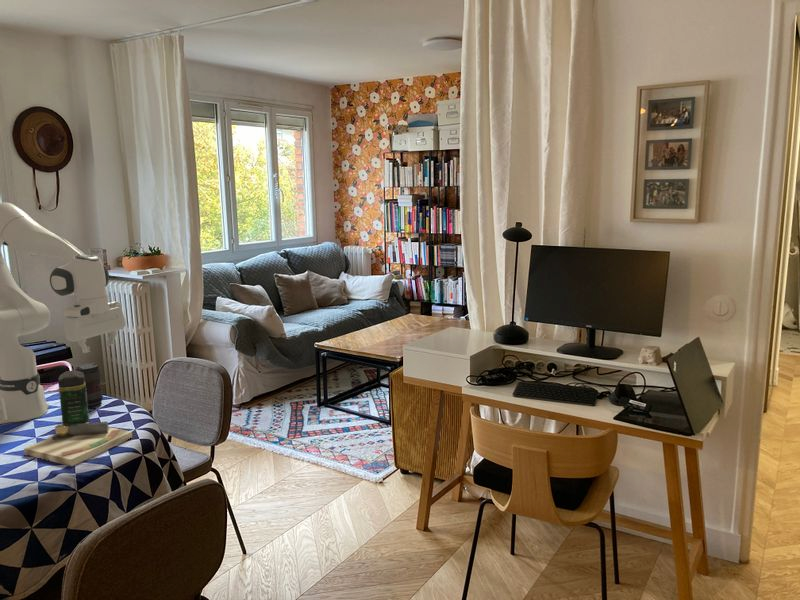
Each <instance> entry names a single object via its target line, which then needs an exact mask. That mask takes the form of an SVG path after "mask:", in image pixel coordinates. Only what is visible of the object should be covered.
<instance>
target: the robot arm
mask: <svg viewBox="0 0 800 600" xmlns="http://www.w3.org/2000/svg"><path fill="white" fill-rule="evenodd" d="M2 246H9V247H10V248H11V249H13V250H14V251H16V252H18V253H20V254H24V255H34V256H36V255H37V256H46V257H47V256H48V257H53V258H57V259H59V260H61V261H62V262H64V263H65V264H64V265H60V266H59V267H55V268H54V269H52V271H51V273H50V276H49V285H50V287H51V289H52V291H53V292H54V293H55V294H57V295H58V296H60V297H68V296H69V297H70V296H76V301H75V302H74V303H73V304H71V305H69V306H67V307H66V308H64V309H63V311H62V314H63V316H64V317H65V318H64V320H63V331H64V332H63V333H64V338H65V339H66V341H68V342H76V343H77V344H78V346H79V347H80V348H81V350H82V354H88V353H90V352H91V346H87V345H86V343H87V339H91V338H94V337H98V336H101V335H105V334H108V335H109V338H108V339H106V343H107V344H106V345H107V346H110V347H111V346H115V344H116V343H115V339H116V337H117V334H118V333H117V331H120V330H124V329H125V327H126V319H125V316H124V312H123V309H122V305H121V303H119V302H118V301H112V302H109V294H108V292H107V288H106V287H107V286H108V284H109V281H110V273H109V270H108V269H107V267H106V266H105V265H104V264H103V262H102V259H101V257H100V256H97V255H95V254H91V253H90V254H87V253H86V254H85V252H83V251H82V250H80V249H79V248H78V247H76V245H74V244H72V243H71V242H69V241H68V240H67V239H65V238H64V237H62V236H60V235H59V234H57V233H54V232H52V231H51V230H49V229H47V227H46V228H45V227H44V226H42V225H41V224H40V223H38V222H37V221H36V220H35V219H34V218H32V216H30V215H29V214H28V213H27V212H25V211H24V210H23V209H21V208H20V207H18V206H17V205H15V204H14V203H11V202H5V201H4V202H0V425H2V424H8V423H15V422H17V423H18V422H23V421H29V420H33V419H36V418H39V417H41V416H43V415H45V414H46V413H48V408H49V407H50V403H48V402H47V400H46V397H45V396H46V395H45V391H44V387H43V385H41V380H40V378H41V377H40V373H39V372H38V367H37V362H36V361H37V359H36V353H35V352H34V351H33V350H32V349H31V348H29V347H26V346H23V345H21V344H20V341H19V337H23V336H27V335H30V334H34V333H37V332H39V331H42V330H43V329H45V328H47V327H48V326H49V325H50V322H51V312H50V310H49V308H48V307H47V305H45V304H44V303H43V302H40V301H38V300H35V299H33V297H30V296H29V295H28V294H27V293H26V292H24V290H23V289H21V288H20V287H19V286H18V284H17V282H16V280H15V279H14V276H13V275H12V273H11V271H10V269H9V266H8V264H7V262H6V260H5V257H4V256H3V254H2V250H1V249H2Z"/></svg>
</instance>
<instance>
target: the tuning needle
mask: <svg viewBox="0 0 800 600" xmlns="http://www.w3.org/2000/svg"><path fill="white" fill-rule="evenodd" d="M108 427H109V422H108V421H100V422H98V421H97V422H89V423H83V424H63V423H60V424H57V425H55V426H54V430H55V435H56V437H58V438H62V437H67V436H70V435H82V434H95V433H107V432H108V431H109V428H108Z"/></svg>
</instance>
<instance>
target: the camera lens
mask: <svg viewBox="0 0 800 600" xmlns="http://www.w3.org/2000/svg"><path fill="white" fill-rule="evenodd" d="M75 370H78V371H80V372H82V373H84V377H85V384H86V392H87V403H88V410H89V409H96V408H97V407H98V408H99V407H100V406H101V405H102V402H103V388H102V387H103V383H102V379H101V378H102V375H101V374H102V373H101V367H100V364H99V363H95V362H90V363H84V364H80V365H77V366H75Z"/></svg>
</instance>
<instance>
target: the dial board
mask: <svg viewBox="0 0 800 600" xmlns="http://www.w3.org/2000/svg"><path fill="white" fill-rule="evenodd" d="M108 428H109V431H108V432H107V433H95V434H82V435H70V436H67V437H62V438H58V437H56V434H54V435H53V436H50V437H48V438H46V439H43V440H41V441H38V442H36V443H33V444H32V445H29V446H27V447H24V448H23V450H24V451H23V452H24V455H25V456H28V455H29V456H28V457H33V458H37V459H40V458H41V460H44V459H45V461H48V460H49V461H48V462H53V463H56V464H57V463H58V464H62V465H65V466H69V467H74V466H75V465H78V464H80V463H82V462H84V461H86V460H89V459H90V458H92V457H95V456H97V455H100V454H101V453H103V452H105V451H107V450H109V449H111V448H114V447H116V446H117V445H120V444H122V443H124V442H126V441H128V439H129V440H130V438H131V439H132V437H133V431H131V430H126V429H122V428H121V429H120V428H115V427H111V426H108Z"/></svg>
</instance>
